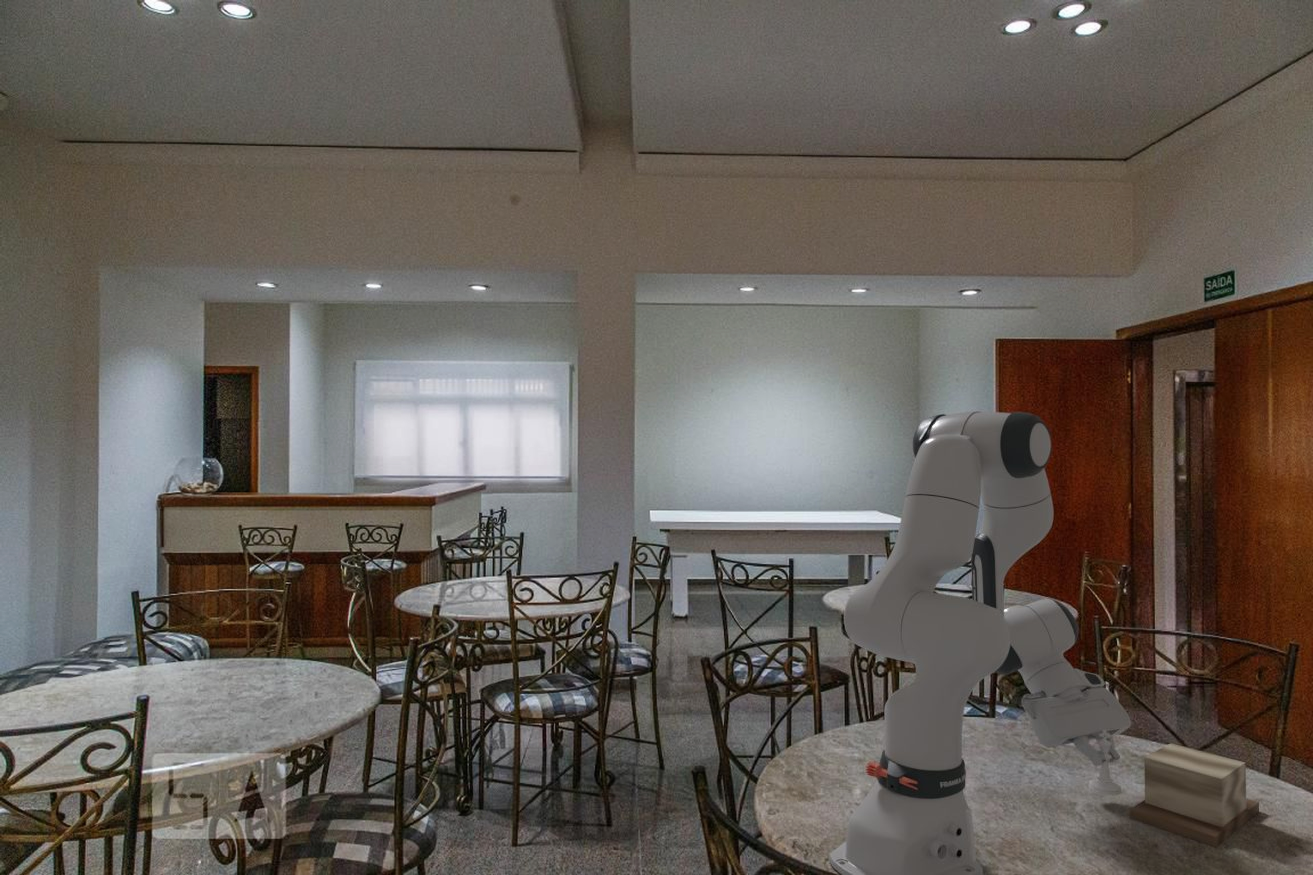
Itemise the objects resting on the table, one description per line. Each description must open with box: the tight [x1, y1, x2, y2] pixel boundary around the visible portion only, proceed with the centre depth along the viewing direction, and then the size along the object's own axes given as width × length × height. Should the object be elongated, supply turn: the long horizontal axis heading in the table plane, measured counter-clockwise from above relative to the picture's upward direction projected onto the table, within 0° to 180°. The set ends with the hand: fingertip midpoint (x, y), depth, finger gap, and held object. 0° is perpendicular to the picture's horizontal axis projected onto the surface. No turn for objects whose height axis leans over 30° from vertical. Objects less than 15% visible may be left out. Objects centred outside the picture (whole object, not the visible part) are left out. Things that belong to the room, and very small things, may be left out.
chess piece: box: [1088, 730, 1122, 796], centre depth 135 cm, size 5×5×10 cm
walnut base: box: [1129, 742, 1260, 848], centre depth 130 cm, size 20×12×9 cm, turn 127°
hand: (1108, 762), depth 134 cm, fingers closed on chess piece, 2 cm apart
